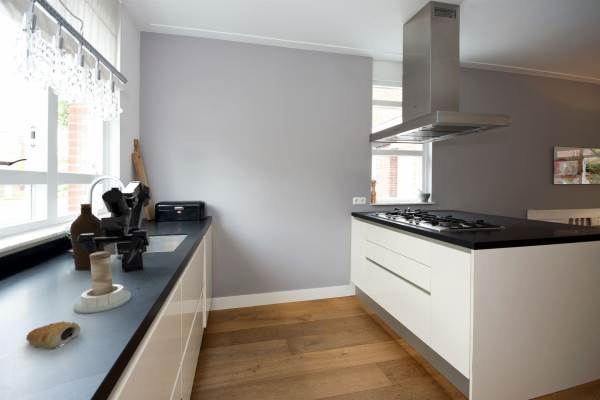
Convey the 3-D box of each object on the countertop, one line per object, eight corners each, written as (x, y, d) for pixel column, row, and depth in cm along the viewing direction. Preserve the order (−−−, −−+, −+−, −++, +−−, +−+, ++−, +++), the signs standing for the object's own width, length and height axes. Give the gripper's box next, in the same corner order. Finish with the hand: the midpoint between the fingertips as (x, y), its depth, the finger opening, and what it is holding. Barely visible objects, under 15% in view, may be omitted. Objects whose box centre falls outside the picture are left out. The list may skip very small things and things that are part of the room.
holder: (129, 289, 86) (128, 278, 86) (132, 304, 76) (131, 292, 75) (76, 300, 79) (75, 288, 79) (71, 318, 68) (70, 305, 68)
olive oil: (112, 262, 116) (108, 202, 114) (95, 270, 106) (90, 204, 104) (85, 262, 116) (81, 203, 114) (66, 271, 105) (60, 205, 103)
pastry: (15, 348, 57) (13, 330, 56) (49, 330, 63) (48, 314, 63) (54, 351, 55) (53, 333, 55) (85, 333, 62) (84, 316, 62)
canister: (108, 294, 80) (104, 250, 80) (117, 297, 78) (114, 252, 77) (89, 301, 76) (86, 254, 75) (98, 304, 74) (95, 256, 73)
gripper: (76, 208, 84) (61, 253, 75) (145, 205, 90) (139, 247, 80) (89, 229, 92) (77, 272, 83) (152, 225, 98) (147, 265, 88)
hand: (110, 264), depth 83 cm, fingers open, 9 cm apart
